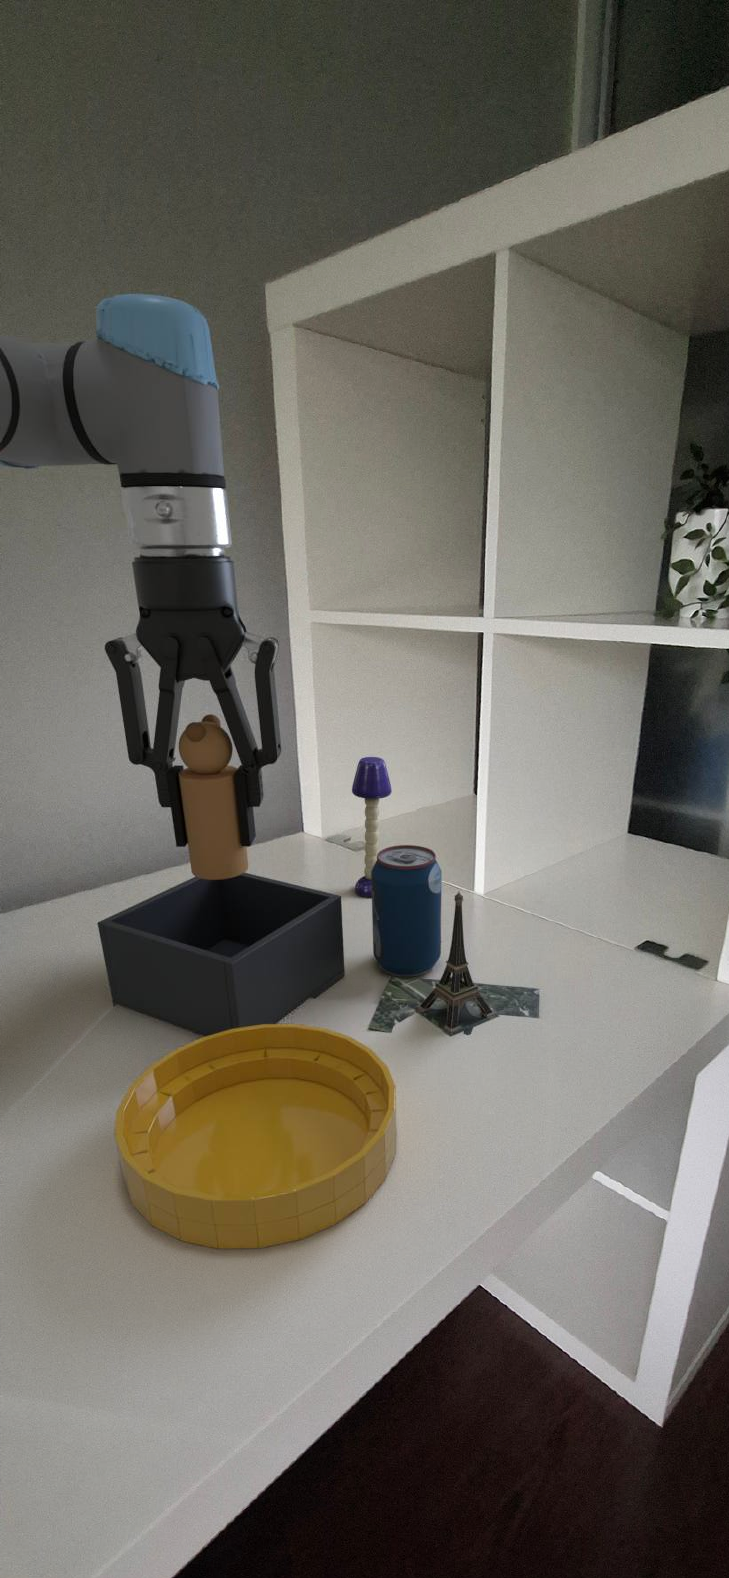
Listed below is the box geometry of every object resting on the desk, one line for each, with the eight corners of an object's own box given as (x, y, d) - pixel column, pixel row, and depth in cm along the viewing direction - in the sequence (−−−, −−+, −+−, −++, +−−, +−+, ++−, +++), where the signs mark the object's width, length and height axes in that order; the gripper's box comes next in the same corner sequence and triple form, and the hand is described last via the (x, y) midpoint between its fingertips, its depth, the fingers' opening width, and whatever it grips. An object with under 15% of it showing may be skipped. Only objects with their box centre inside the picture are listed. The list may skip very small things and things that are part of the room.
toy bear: (182, 878, 71) (160, 723, 65) (205, 857, 75) (186, 711, 69) (236, 881, 70) (219, 725, 64) (256, 861, 74) (241, 713, 68)
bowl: (65, 1185, 55) (51, 1133, 53) (249, 1045, 70) (244, 1001, 68) (288, 1303, 46) (282, 1246, 44) (442, 1115, 61) (443, 1067, 59)
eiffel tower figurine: (542, 993, 78) (552, 864, 72) (537, 1053, 69) (548, 912, 63) (390, 980, 80) (388, 854, 74) (367, 1036, 71) (362, 898, 65)
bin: (113, 1006, 75) (96, 922, 71) (226, 940, 87) (217, 865, 84) (241, 1054, 68) (231, 963, 65) (345, 975, 81) (341, 895, 77)
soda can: (454, 961, 83) (456, 853, 78) (411, 987, 79) (410, 874, 73) (403, 942, 87) (402, 837, 82) (359, 965, 82) (355, 856, 77)
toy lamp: (395, 885, 101) (394, 754, 94) (389, 900, 97) (386, 765, 90) (358, 883, 102) (354, 753, 95) (350, 897, 98) (345, 763, 91)
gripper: (43, 554, 58) (100, 857, 68) (294, 554, 58) (313, 855, 68) (81, 552, 64) (128, 827, 74) (306, 552, 65) (322, 827, 75)
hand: (216, 840), depth 71 cm, fingers closed on toy bear, 5 cm apart
